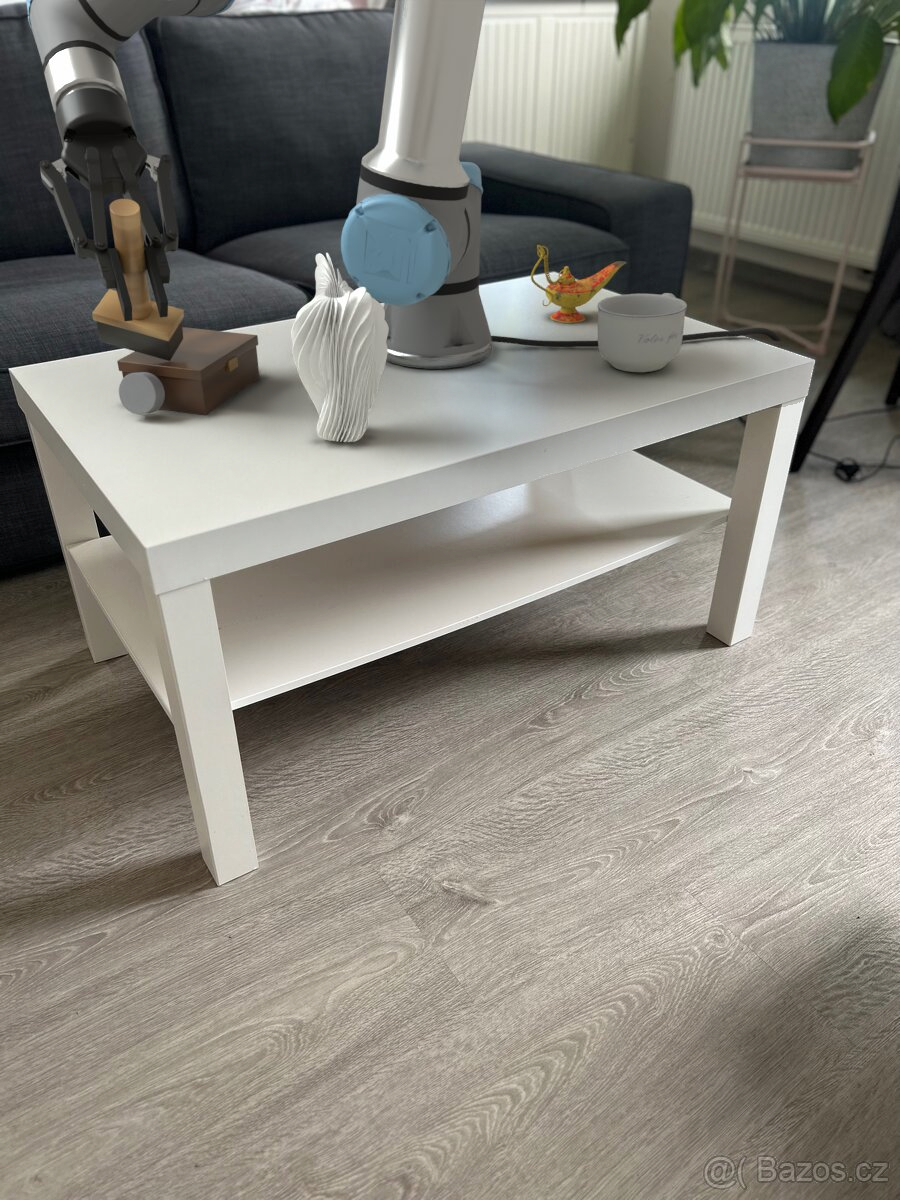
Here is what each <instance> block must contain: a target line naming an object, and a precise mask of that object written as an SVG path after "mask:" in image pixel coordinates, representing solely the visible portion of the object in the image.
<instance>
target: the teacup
mask: <svg viewBox="0 0 900 1200" xmlns="http://www.w3.org/2000/svg"><path fill="white" fill-rule="evenodd" d="M687 308H688V304H687V303H686V301H684V300H682V299H680V298H678V297H676V296H675V295H674V294H673V293H671V292H670V293H669V292H664V293H662V294H658V293H657V294H656V293H629V294H627V293H626V294H619V295H613V296H609V297H605V298H603V299H601V300H599V302H597V310H598V311H597V313H598V314H597V341H598V346H599V347H598V350H599V353H600V355H601V357H602V358H603V359H604V360H606V362H608V363H609V364H610V366H612V367H613V368H614V369H617V370H619V371H623V372H629V373H649V372H654V371H658V370H661V369H663V368H664V367H666V366H667V365H668V363H670V362H671V361H673V360H674V359H675V358H676V357H677V356H678V355H679V352H680V350H681V348H682V343H683V341H682V338H683V335H684V329H685V318H686V310H687Z"/></svg>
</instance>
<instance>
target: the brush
mask: <svg viewBox="0 0 900 1200" xmlns="http://www.w3.org/2000/svg"><path fill="white" fill-rule="evenodd" d="M109 214H110V220H111V221H110V222H111V227H112V235H113V241H114V248H117V252H118V256H119V259H120V263H121V267H122V271H123V275H124V278H125V282H126V286H127V290H128V293H129V297H130V301H131V305H132V321H124V317H123V313H122V309H121V306H120V302H119V298H118V294H117V290H116V289H113V288H112V289H107V292H106V293H105V294H104V296H103V297H102V299H101V300H100V301H99V303H98V305H97V306H96V307H95V309H94V310H93V311H92V314H91V315H92V319H93V321H94V322H96V327H97V332H98V337H99V338H98V339H99V342H101V343H105V344H107V345H111V346H114V347H118V348H122V349H126V350H129V351H133V352H135V351H136V352H139V353H143V354H146V355H150V356H153V357H157V358H161V359H164V360H168V361H170V360H171V358H172V357H173V355H174V353H175V352H176V350H177V348H178V347H179V345H180V343H181V342H182V340H183V329H182V327H183V319H184V317H185V315H184V314H185V312H184V309H182V308H178V307H175V306H171V305H168V317H160V315H159V312H158V308H157V304H156V301H154V300H151V292H150V284H149V283H150V282H149V275H148V271H147V266H146V257H145V241H144V239H143V231H142V222H141V214H140V207H139V205H138V204H137V203H136V202H135V201H133V200H130V199H124V198H119V199H115V200H113V201H111V203H110V204H109Z"/></svg>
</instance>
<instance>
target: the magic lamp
mask: <svg viewBox="0 0 900 1200" xmlns="http://www.w3.org/2000/svg"><path fill="white" fill-rule="evenodd" d="M544 248H545V249H546V251H545V249H544ZM536 249H537V251H536V252H537V256H538V260H537V262H536V263H535V265H534V266H533V269H532V270H531V273H530V280H531V282H532V283H533V285H534V286H535V287H538V288H539V289H540V290H542V291H544V292H545V295H546V298H547V299H548V300H549V301H548V303H547V304H544V302H545V299H543V300H542V306H543V307H548V306H549V305H550V304H551V303H552V304H553V305H555V306H558V307H559V308H560V309H559V310H557V311H556V312H554V313H552V314H551V315H550V317H549V318H550V320H552V321H554V322H558V323H561V324H562V323H563V324H575V323H576V324H577V323H581V322H583V321H585V320H586V317H585V316H584V315H583V314H581V313H580V312H579V311H578V310H577V308H578V307H581V306H583V305H586V304H588V302H590V301H591V300H592V299H593V298H594V297H595V296H596V295H597V294H598V293H599V292H600V291H601V290H602V289H604V287H605V286H606V285H608V283H609V282H610V281H611V279H612V278H613V277H614V276H615V274H616V273H617V272H618V271H619V269H620V268H622V266H624V265H625V264H627V262H626V261H624V260H623V261H621V260H618V261H615V262H613V263H610V264H609V265H607V266H605V267H604V268H603V269H601V270H599V271H598V272H597V273H595V274H593V275H591V276H589V277H585V278H582V279H575V276H574V275H572V273H571V271H570V268H569V266H568V265H566V266H564V267H563V269H561V270H560V271H559V273H558V278H557V279H556V280H554V281H553V280H552V279H551V275H550V269H549V252H550V251H549V249H548V247H546V246H545V245H540V244H537V245H536ZM542 260H543V268H544V274H545V279H546V281H547V283H548V285H547V286H546V288H545V287H543V286H542V285H540V284H539V283H538V282H536V281H535V279H534V274H535V271H536V270H537V267H539V264H540V263H541V261H542Z"/></svg>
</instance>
